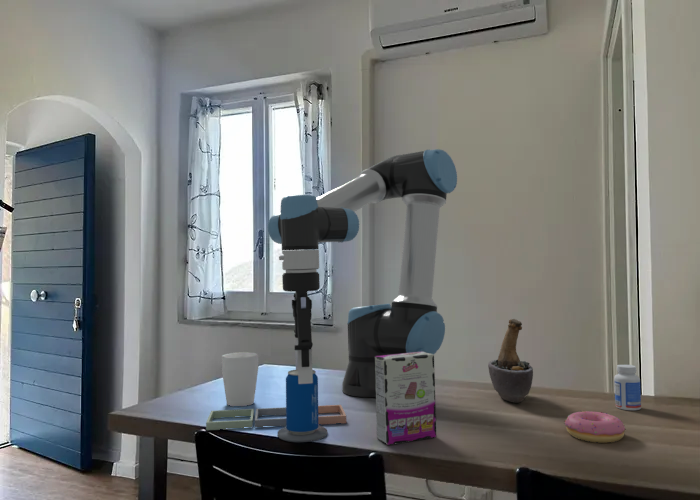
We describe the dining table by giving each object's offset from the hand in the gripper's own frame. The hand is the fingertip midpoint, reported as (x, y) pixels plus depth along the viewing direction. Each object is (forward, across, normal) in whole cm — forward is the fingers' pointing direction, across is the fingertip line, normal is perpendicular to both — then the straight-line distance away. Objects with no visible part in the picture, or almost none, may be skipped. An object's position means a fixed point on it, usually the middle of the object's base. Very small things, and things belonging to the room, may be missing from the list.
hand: (303, 375), depth 114 cm
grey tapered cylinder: (+12, -28, -15) cm, 33 cm away
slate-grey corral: (+12, -10, -6) cm, 17 cm away
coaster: (+12, 0, -1) cm, 12 cm away
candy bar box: (+12, +6, +19) cm, 24 cm away
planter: (+13, -19, +52) cm, 57 cm away
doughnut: (+13, +11, +56) cm, 59 cm away
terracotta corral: (+12, -10, +4) cm, 17 cm away
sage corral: (+12, -10, -16) cm, 22 cm away
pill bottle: (+14, -6, +75) cm, 77 cm away
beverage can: (+11, 0, -1) cm, 11 cm away
